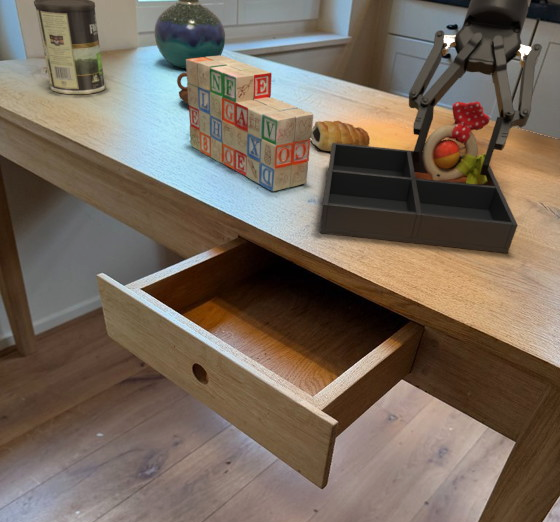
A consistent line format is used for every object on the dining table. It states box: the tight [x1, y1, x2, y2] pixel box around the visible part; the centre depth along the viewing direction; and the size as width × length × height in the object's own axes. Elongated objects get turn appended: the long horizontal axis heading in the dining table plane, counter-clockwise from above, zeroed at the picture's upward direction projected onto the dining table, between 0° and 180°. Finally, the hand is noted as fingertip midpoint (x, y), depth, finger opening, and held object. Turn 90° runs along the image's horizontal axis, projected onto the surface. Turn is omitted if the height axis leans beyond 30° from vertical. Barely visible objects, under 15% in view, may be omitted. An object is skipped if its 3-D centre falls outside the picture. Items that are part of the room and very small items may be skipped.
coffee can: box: [33, 0, 106, 95], centre depth 104 cm, size 10×10×14 cm
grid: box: [319, 143, 518, 254], centre depth 74 cm, size 22×22×4 cm
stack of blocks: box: [186, 55, 314, 192], centre depth 79 cm, size 21×6×12 cm, turn 38°
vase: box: [154, 0, 226, 70], centre depth 124 cm, size 15×15×13 cm
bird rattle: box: [422, 101, 491, 185], centre depth 75 cm, size 6×11×9 cm
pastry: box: [310, 120, 371, 152], centre depth 90 cm, size 9×7×4 cm
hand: (449, 163), depth 73 cm, fingers closed on bird rattle, 8 cm apart
